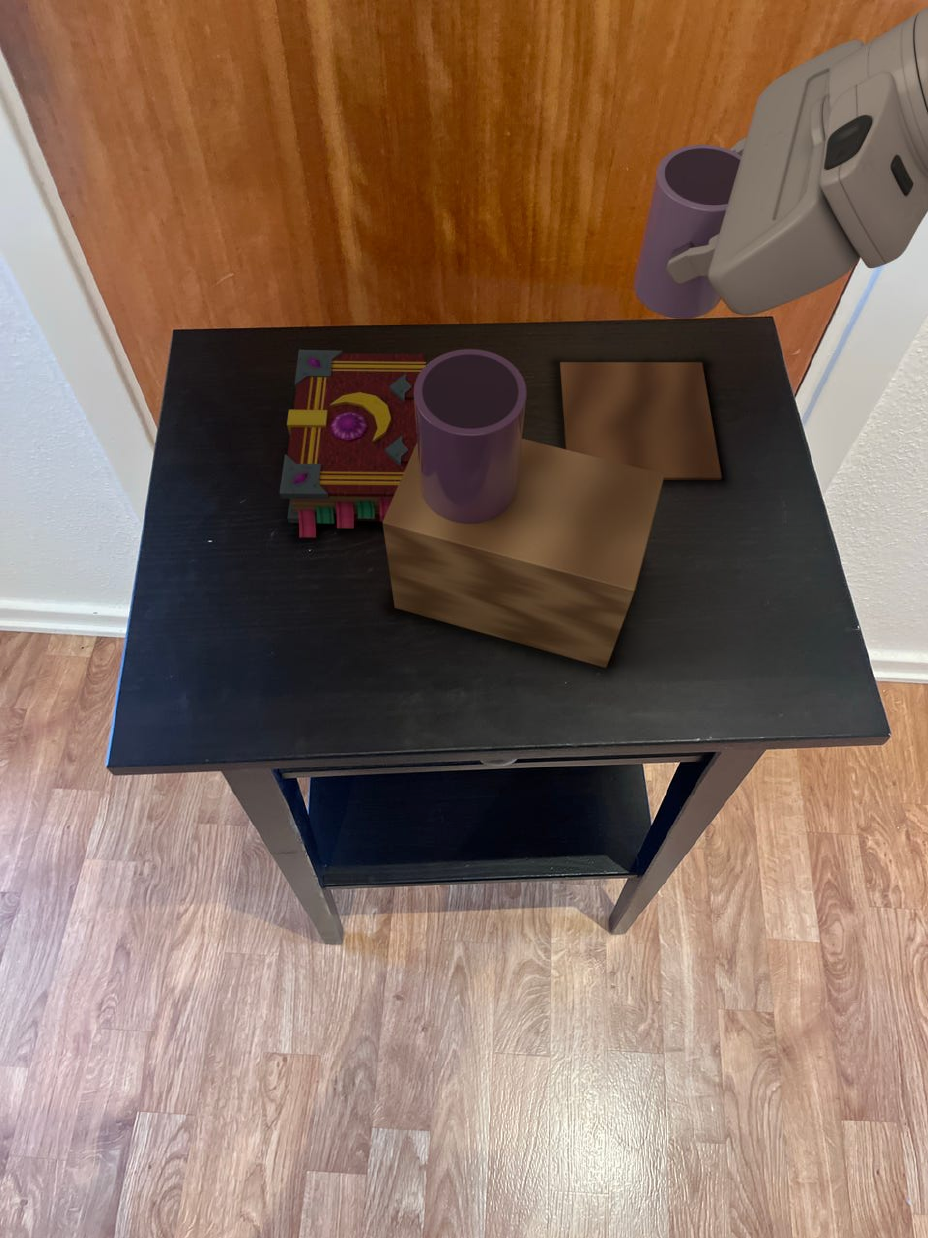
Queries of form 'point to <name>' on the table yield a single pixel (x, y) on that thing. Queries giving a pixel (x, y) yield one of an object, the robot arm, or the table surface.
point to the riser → (530, 554)
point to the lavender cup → (683, 226)
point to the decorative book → (348, 436)
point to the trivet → (641, 416)
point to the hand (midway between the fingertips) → (684, 231)
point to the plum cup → (469, 434)
